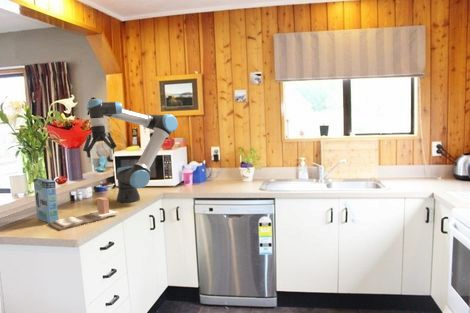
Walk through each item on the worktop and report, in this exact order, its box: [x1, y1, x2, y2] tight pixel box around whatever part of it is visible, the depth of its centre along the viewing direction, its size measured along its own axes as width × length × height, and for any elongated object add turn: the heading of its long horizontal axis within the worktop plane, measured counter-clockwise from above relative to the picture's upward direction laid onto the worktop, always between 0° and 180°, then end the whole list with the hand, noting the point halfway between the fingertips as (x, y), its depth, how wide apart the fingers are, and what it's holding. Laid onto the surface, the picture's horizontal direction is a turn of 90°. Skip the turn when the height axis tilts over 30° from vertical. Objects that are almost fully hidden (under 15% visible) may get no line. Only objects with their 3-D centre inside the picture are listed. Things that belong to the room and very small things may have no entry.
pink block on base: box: [89, 197, 119, 218], centre depth 209 cm, size 10×14×9 cm
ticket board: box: [47, 213, 108, 232], centre depth 198 cm, size 25×16×2 cm, turn 137°
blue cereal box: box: [33, 177, 59, 224], centre depth 205 cm, size 19×5×23 cm, turn 47°
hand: (101, 161), depth 219 cm, fingers open, 13 cm apart
